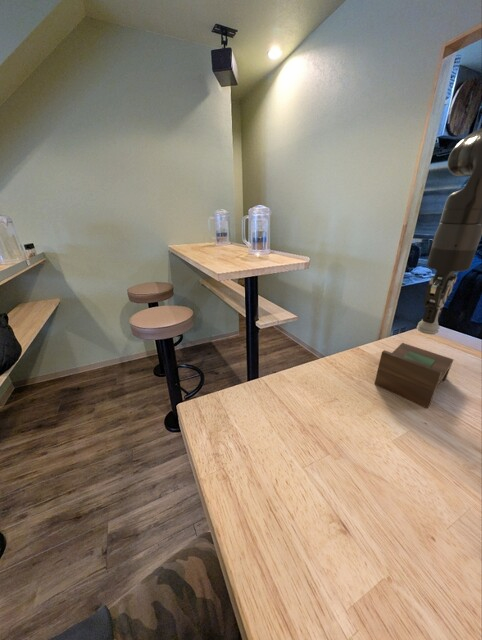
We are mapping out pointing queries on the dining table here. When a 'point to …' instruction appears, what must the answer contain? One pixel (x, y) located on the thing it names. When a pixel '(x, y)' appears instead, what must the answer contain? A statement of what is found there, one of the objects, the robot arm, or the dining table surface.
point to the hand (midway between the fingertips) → (430, 319)
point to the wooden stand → (412, 373)
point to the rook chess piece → (430, 324)
